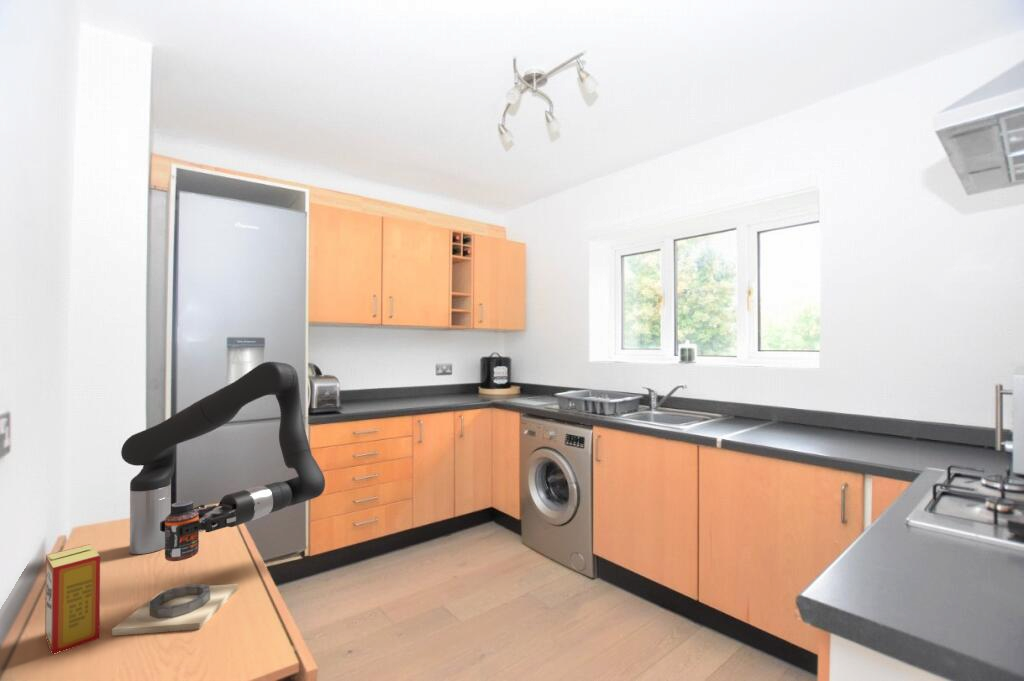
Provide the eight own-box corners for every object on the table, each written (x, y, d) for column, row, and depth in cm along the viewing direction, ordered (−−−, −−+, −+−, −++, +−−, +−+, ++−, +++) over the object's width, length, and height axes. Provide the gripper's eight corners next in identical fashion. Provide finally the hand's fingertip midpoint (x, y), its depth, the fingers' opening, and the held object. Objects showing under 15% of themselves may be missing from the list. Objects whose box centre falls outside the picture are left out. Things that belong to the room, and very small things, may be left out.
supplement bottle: (181, 563, 97) (180, 508, 97) (157, 561, 98) (156, 507, 98) (205, 551, 103) (205, 499, 103) (182, 549, 104) (182, 498, 104)
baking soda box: (99, 637, 90) (100, 553, 91) (52, 655, 85) (53, 566, 86) (89, 621, 96) (90, 542, 97) (45, 636, 91) (45, 553, 92)
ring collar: (169, 594, 104) (169, 585, 105) (219, 590, 106) (219, 582, 106) (137, 620, 94) (137, 611, 94) (192, 616, 95) (192, 607, 95)
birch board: (164, 594, 107) (164, 588, 107) (238, 589, 109) (238, 583, 109) (112, 635, 91) (112, 629, 91) (199, 629, 93) (199, 623, 93)
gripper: (229, 486, 117) (151, 506, 102) (265, 493, 110) (187, 516, 95) (229, 516, 117) (151, 541, 102) (265, 525, 110) (187, 553, 95)
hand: (169, 529), depth 98 cm, fingers closed on supplement bottle, 6 cm apart
